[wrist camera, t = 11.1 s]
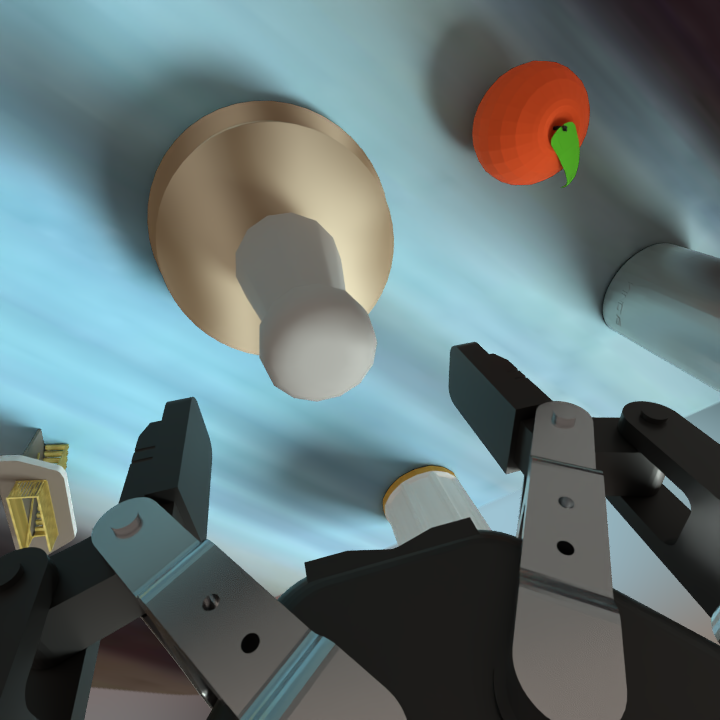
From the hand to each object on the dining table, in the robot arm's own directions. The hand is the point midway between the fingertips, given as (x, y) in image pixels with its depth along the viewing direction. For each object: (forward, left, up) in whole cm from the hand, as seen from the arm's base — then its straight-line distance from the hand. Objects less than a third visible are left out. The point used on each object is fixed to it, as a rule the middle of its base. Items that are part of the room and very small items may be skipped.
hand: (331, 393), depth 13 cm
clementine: (-17, -5, -20) cm, 27 cm away
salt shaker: (0, 0, -15) cm, 15 cm away
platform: (+20, +16, -20) cm, 33 cm away
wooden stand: (0, 0, -20) cm, 20 cm away
